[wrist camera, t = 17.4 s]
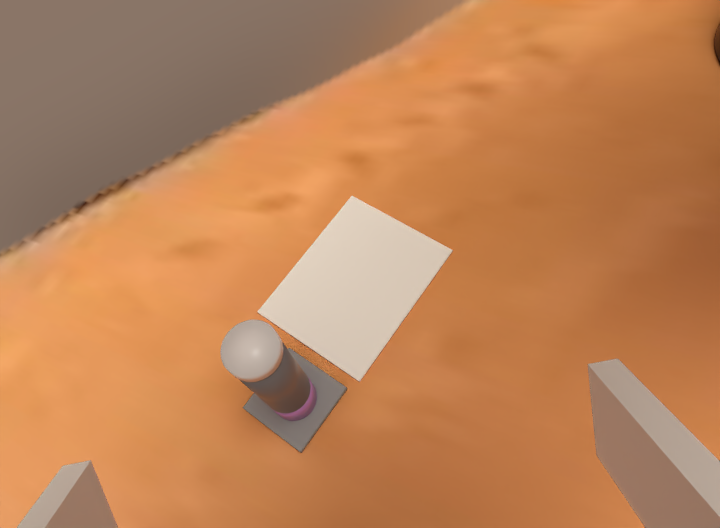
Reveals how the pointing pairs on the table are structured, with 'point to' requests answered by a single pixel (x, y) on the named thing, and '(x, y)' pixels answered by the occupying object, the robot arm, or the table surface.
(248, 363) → the marker
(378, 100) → the table surface
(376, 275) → the paper
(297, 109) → the table surface
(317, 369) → the rest pad
